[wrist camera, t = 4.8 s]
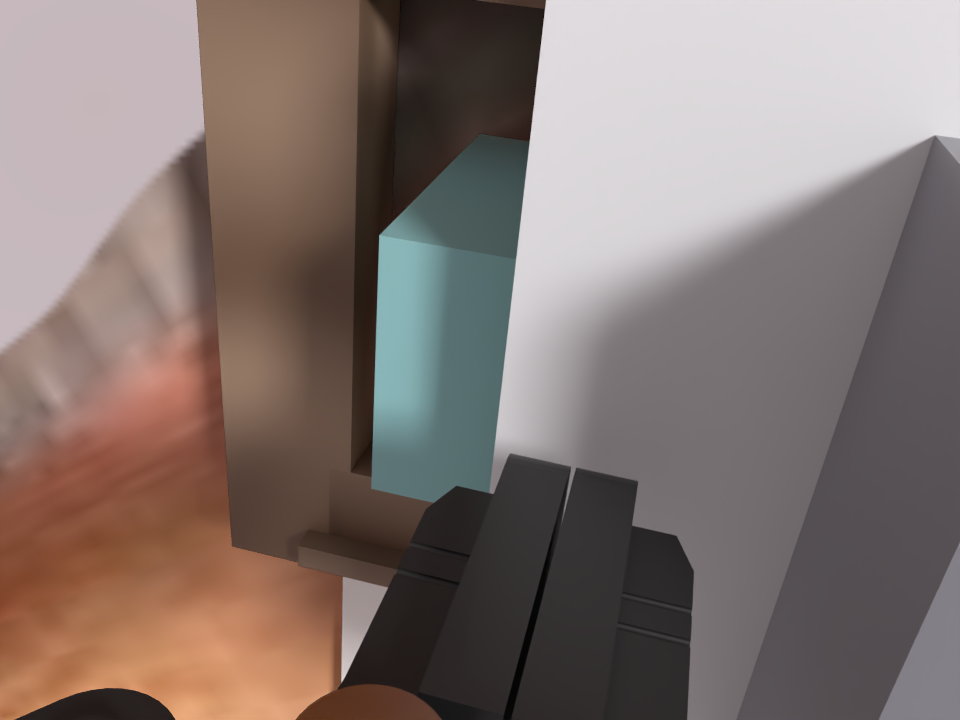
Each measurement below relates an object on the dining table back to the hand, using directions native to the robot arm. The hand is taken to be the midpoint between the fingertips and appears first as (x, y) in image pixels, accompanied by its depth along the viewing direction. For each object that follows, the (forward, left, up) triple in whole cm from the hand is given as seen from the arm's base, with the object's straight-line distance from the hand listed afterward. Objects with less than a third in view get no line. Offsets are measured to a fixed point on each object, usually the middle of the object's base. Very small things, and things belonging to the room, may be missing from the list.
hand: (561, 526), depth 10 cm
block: (0, -1, -9) cm, 9 cm away
